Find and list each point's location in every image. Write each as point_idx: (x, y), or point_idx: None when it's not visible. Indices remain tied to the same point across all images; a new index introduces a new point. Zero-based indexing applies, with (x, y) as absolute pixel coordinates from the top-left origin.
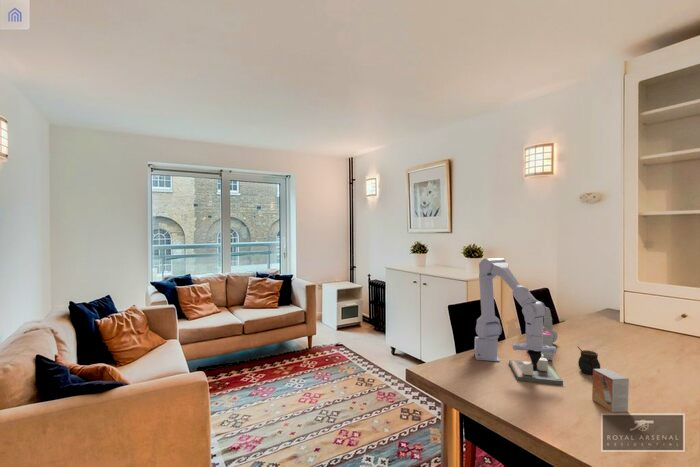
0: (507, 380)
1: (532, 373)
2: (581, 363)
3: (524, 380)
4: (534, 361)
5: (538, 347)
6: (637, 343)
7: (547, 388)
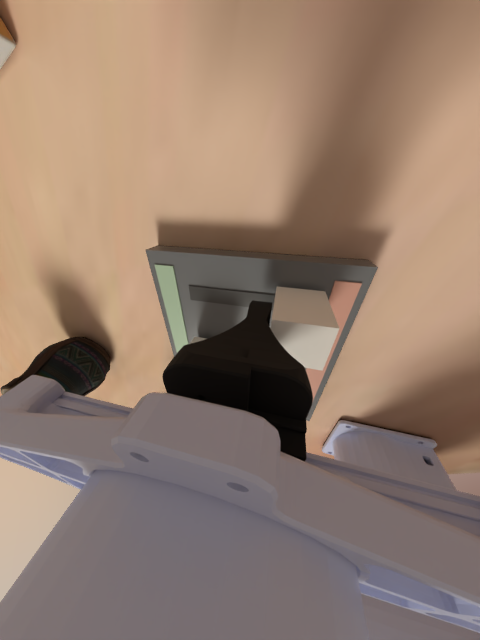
0: (443, 253)
1: (278, 290)
2: (82, 370)
3: (332, 258)
4: (259, 330)
5: (127, 512)
6: None
7: (234, 178)
